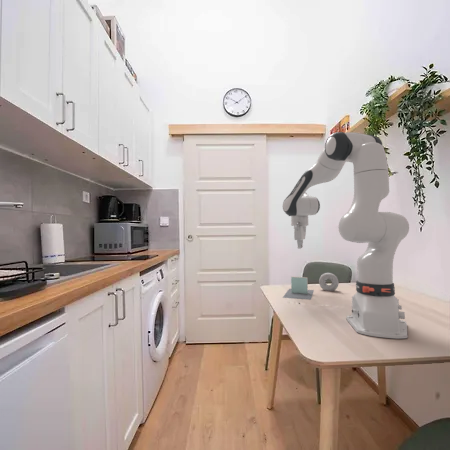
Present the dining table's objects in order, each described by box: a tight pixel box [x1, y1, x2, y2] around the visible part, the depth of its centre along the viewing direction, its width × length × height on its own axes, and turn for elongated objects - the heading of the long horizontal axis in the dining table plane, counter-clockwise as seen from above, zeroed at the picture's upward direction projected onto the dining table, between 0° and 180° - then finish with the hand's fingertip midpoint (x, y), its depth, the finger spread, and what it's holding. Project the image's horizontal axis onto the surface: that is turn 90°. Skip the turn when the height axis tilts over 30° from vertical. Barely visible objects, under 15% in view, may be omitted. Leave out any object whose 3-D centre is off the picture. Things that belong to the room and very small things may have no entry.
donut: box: [318, 272, 340, 292], centre depth 150 cm, size 10×4×10 cm, turn 60°
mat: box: [282, 288, 315, 301], centre depth 142 cm, size 22×13×1 cm, turn 159°
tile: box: [290, 276, 309, 294], centre depth 144 cm, size 2×8×8 cm, turn 69°
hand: (300, 248), depth 150 cm, fingers open, 4 cm apart
